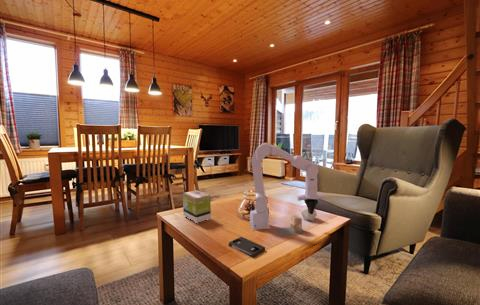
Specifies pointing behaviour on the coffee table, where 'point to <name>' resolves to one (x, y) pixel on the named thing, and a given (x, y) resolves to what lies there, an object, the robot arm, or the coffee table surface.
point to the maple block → (296, 223)
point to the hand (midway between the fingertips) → (310, 213)
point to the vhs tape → (246, 246)
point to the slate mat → (288, 232)
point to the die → (308, 214)
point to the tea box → (197, 206)
